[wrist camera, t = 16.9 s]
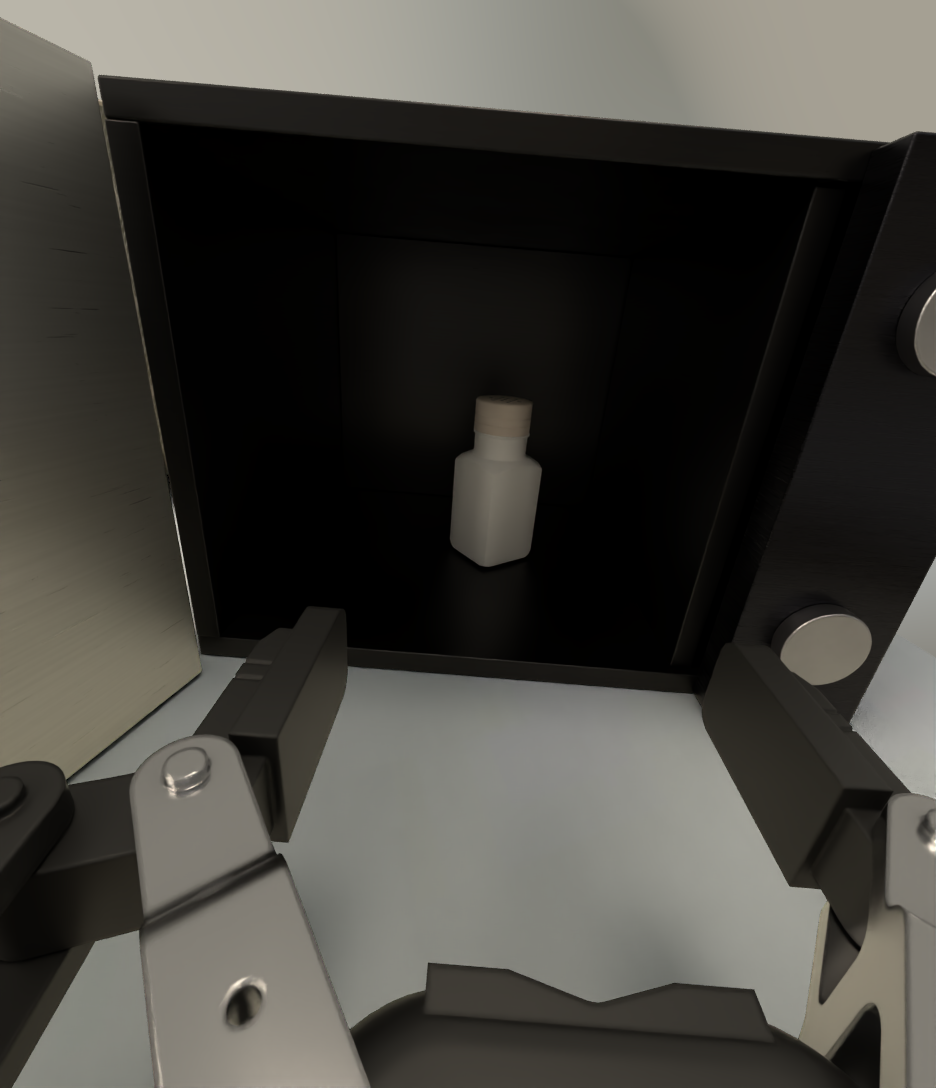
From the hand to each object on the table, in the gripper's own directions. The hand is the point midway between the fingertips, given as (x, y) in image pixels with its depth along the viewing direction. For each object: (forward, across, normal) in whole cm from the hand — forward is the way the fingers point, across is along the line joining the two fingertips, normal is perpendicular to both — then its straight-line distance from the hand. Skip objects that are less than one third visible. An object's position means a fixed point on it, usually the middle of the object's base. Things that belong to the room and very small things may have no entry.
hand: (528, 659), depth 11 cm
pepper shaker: (+20, 0, +7) cm, 21 cm away
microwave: (+19, -1, +8) cm, 21 cm away
